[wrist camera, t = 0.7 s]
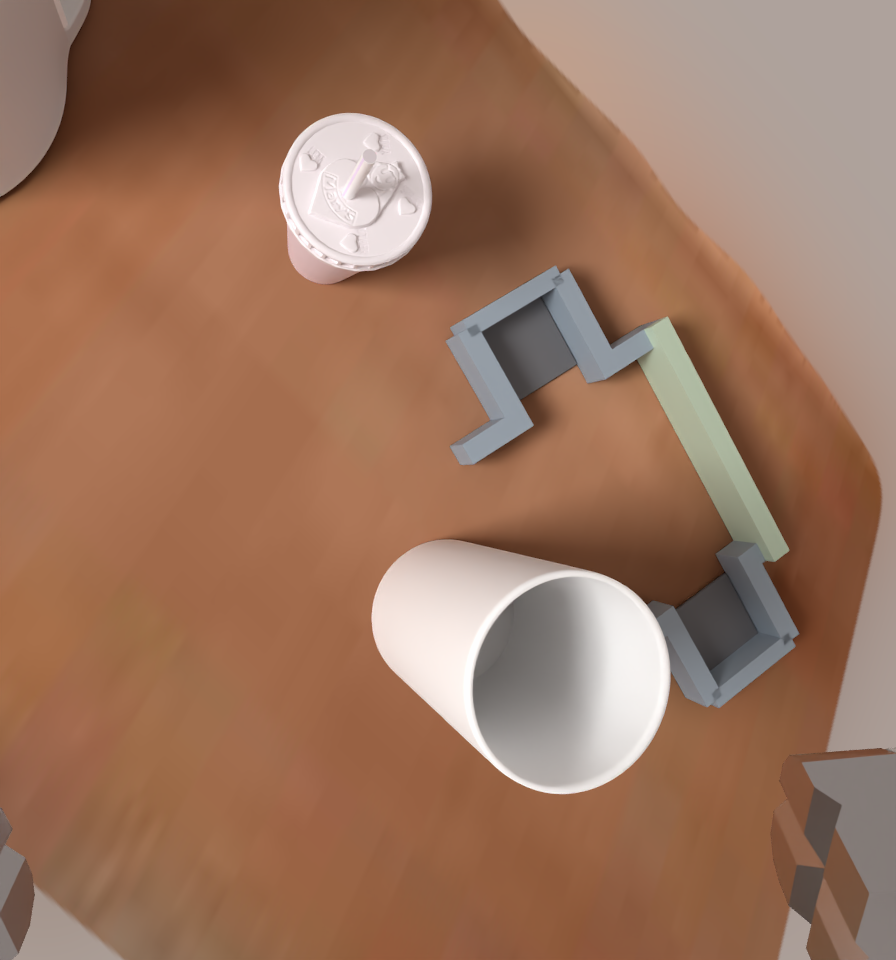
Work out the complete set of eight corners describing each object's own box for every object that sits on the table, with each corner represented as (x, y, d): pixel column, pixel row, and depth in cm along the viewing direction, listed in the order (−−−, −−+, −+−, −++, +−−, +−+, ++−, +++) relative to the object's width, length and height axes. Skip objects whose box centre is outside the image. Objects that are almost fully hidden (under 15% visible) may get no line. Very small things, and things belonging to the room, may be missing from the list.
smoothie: (237, 218, 43) (260, 101, 30) (346, 167, 45) (415, 34, 31) (300, 331, 44) (350, 267, 31) (404, 277, 46) (496, 195, 32)
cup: (471, 511, 47) (610, 528, 31) (540, 636, 48) (706, 711, 33) (343, 590, 45) (425, 650, 29) (418, 719, 46) (534, 840, 31)
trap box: (398, 358, 45) (412, 350, 43) (595, 241, 49) (620, 227, 46) (628, 753, 50) (655, 769, 47) (795, 620, 53) (830, 628, 50)
